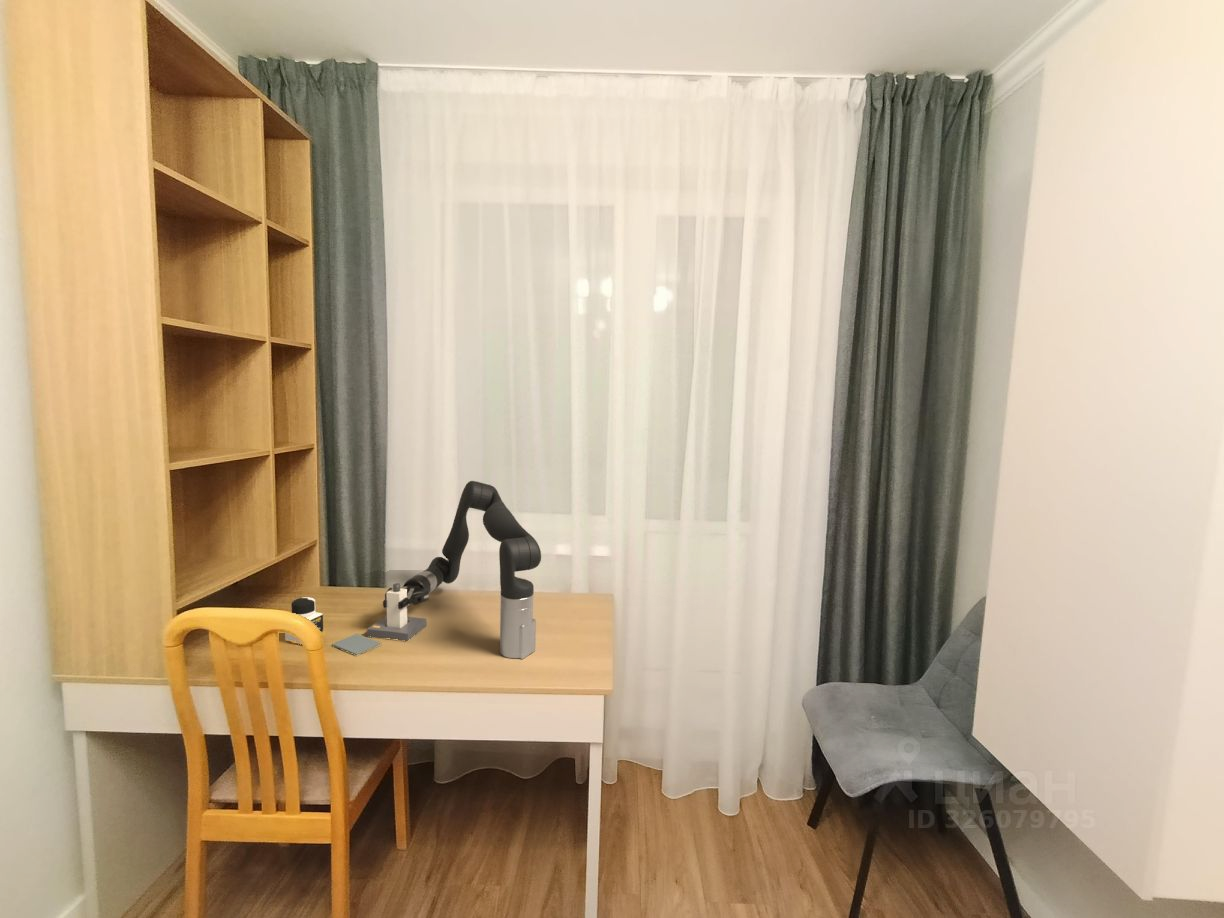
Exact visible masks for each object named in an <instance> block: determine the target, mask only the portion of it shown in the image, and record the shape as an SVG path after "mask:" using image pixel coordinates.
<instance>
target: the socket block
mask: <svg viewBox="0 0 1224 918" xmlns="http://www.w3.org/2000/svg"><path fill="white" fill-rule="evenodd" d="M426 627H427V618H425V617H415V616H407V624H406V625H404V626H403V627H402V628H394V627H387V614H386V615H385V616H384V617H382V618H381V619H379V620H378V621H376V622H374V623H373V624H372V625H370V626H369V627H368V628H366V637H367V636H369V637H368V638H372V637H379V638H378V639H380V638H390V639H398V640H405V641H404V642H406V641H408V640H409V639H410V640H412V639H413V638H414V637H415V636H416V635H418V634H417V633H418V632H419V633H420V632H422V630H424V629H425V628H426ZM414 635H415V636H414ZM370 636H371V637H370ZM413 636H414V637H413ZM412 637H413V638H412ZM411 638H412V639H411ZM410 640H409V641H410ZM409 641H408V642H409Z"/></svg>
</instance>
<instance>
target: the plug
mask: <svg viewBox="0 0 1224 918" xmlns="http://www.w3.org/2000/svg"><path fill="white" fill-rule="evenodd" d="M392 588H393V589H391V590H390V591H388V592H387V591H386V592H387V593H386V592H385V593H386V595H387V608H386V615H387V627H394V628H402V627H403V626H404V625H406V624H407V617H408V605H407V606H405V607H404V608H402V609H398V602H400V601H401V600H403V599H404V598H406V597H407V589H401V588H402V587H401V583H393V585H392Z"/></svg>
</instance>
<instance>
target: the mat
mask: <svg viewBox="0 0 1224 918" xmlns="http://www.w3.org/2000/svg"><path fill="white" fill-rule="evenodd" d="M380 644H381V645H382V642H380V641H377V640H375V639H373V638H370V637H367V636H364V635H362V634H361V635H360V634H358V633H356V634H352V635H351V636H348V637H346V638H343V639H341V640H337V641H335V642H333V643H332V644H331V646H332V647H333V646H334V647H333V648H336V647H338V648H340V649H339V650H341V649H343V650H345V651H348V652H350V653H353V654H355V655H358V654H360V653H362V652H365V651H367V650H369V649H371V648H374V647H376V646H378V645H380ZM378 647H379V646H378ZM338 648H337V649H338ZM376 648H377V647H376ZM374 649H375V648H374ZM343 650H342V651H343ZM345 651H344V652H345ZM369 651H370V650H369ZM348 652H347V653H348ZM367 652H368V651H367ZM350 653H349V654H350ZM365 653H366V652H365ZM353 654H352V655H353ZM355 655H354V656H355ZM358 656H359V655H358Z"/></svg>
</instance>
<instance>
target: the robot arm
mask: <svg viewBox="0 0 1224 918" xmlns="http://www.w3.org/2000/svg"><path fill="white" fill-rule="evenodd" d="M469 509H474V510H477V511H478V510H479V511H483V512H484V513H483V515H482V524H483V526H484V529H485V530H486V532H487V533H488V535H489V536H490V537H491V538H493V539H494V540H495V541H498V542H500V545H499V551H498V555H499V580H500V581H499V583H500V584H499V585H500V613H499V616H500V622H499V623H500V625H499V626H500V627H499V629H500V630H499V631H500V632H499V640H500V642H499V653H500V654H501V655H502V656H503V657H505V658H507V659H522V660H523V659H524V658H526V657H528V656H529V655H530V654H532V653H534V652H536V635H537V634H536V633H537V632H536V630H537V620H536V618H534V592H535V590H534V584H533V582H532V581H530V580H528V579H526V578H522V577H517V576H515V573H516V572H522V571H524V572H525V571H530V570H534V569H535V568H537V567H538V566H539V565H540V563H541V562H542V551H541V547H540V545H539V543H538V541H537V540H536V539H535V538H534V537H533V535H532V534H530V533H529V532H528V531H527V530H526V529H525V528H524V527H523V526H522V525H521V524H520V523H519V522H518V520H517V519H516V518H515V515H513V513H512V512H511V511H510V509H509V508H508V507H507V506H506V504H505V503H504V501H503V500H502V498H501V496H500V493H499V491H498V490H497V488H496V487H495V486H493V485H491V484H489V483H488V484H486V483H483V482H480V481H476V480H470V481H468V482H467V483H466V484H465V486H464V487H463V490H462V492H461V495H460V498H459V502H458V505H457V508H456V512H455V516H454V518H453V523H452V526H451V529H450V532H449V534H448V537H447V538H446V540H445V542H444V545H443V547H442V549H441V553H442V555H443V556H444V557H442V556H436V557H434V558H433V559H432V560H431V561H430V564H429V565H428V567H427V568H426V569H424V570H423V571H422V572H418V573H417V574H416V575H414V576H413V577H411V578H409V579H407V581H406V582H405V583H404V584H403V586H402V587H400V588H401V589H407V597H406V598H404V599H403V600H401V601H400V602H398V609H402V608H404V607H405V606H407V607H408V606H411V604H412V605H413V606H416V605H419V604H421V603H423V602H427V601H429V599H430V598H429V597H430V596H429V595H430V594H431V593H432V592H433V591H434V590H435V589H437V588H438V587H439V586H440V585H441V584H443V583H445V584H452V583H453V582H455V581H456V580H457V578H458V577H459V573H460V567H461V560H462V557H463V554H464V551H465V549H466V547H467V545H468V542H469V539H470V538H469V537H470V534H469V533H470V532H469V526H468V522H467V515H468V512H469ZM391 589H393V587H389V588H388V589H386V592H385V594H384V600H383V601H382V606H383V608H385V609H387V595H386V593H387V592H388V591H390V590H391Z"/></svg>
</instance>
